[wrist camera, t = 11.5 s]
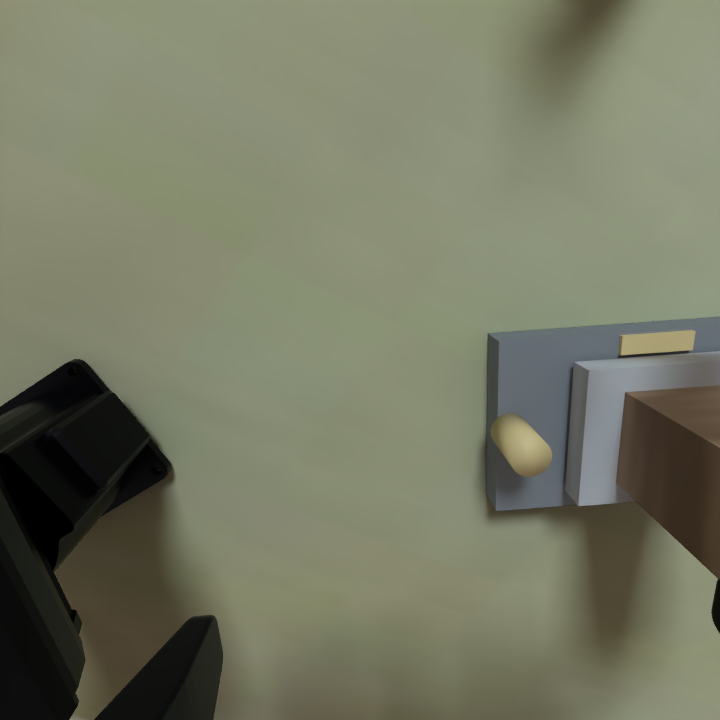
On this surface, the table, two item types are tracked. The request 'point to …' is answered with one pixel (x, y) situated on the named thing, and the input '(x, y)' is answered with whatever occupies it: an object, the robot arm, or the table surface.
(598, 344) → the tensioner track
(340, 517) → the table surface
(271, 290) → the table surface
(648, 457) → the brown wooden block
